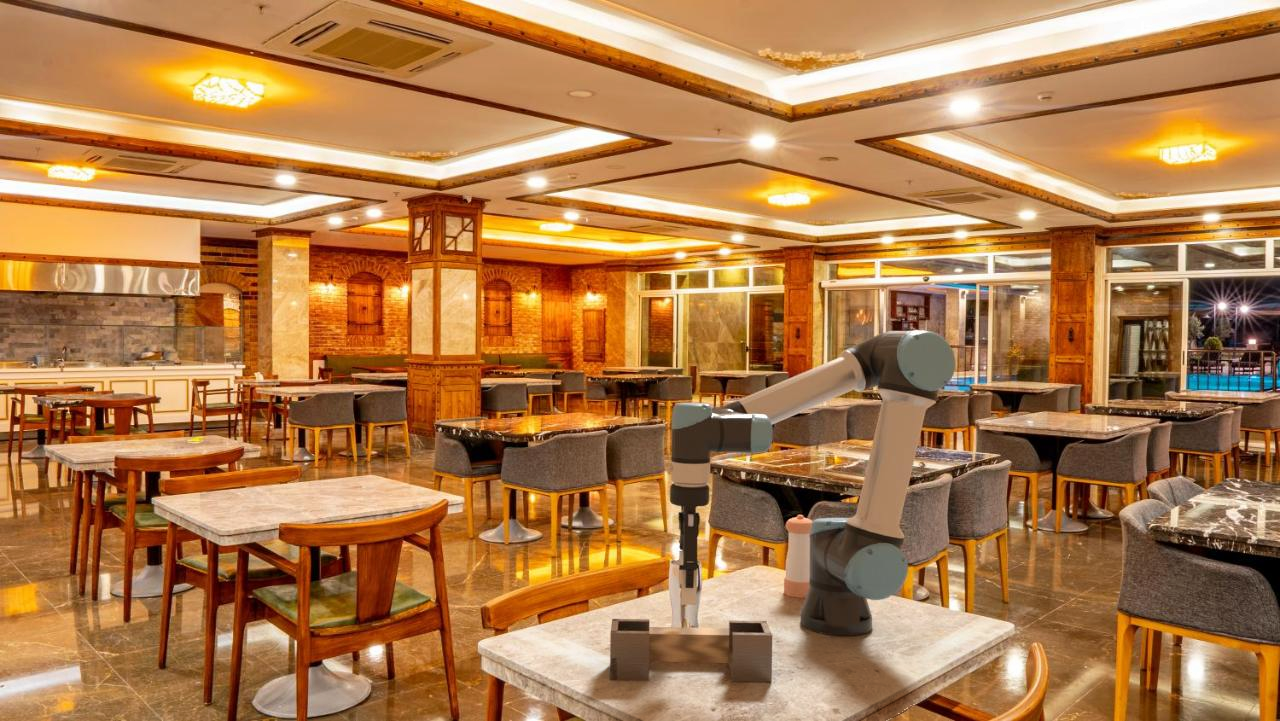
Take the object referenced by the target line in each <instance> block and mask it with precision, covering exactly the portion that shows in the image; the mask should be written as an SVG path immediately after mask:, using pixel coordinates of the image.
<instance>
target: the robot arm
mask: <svg viewBox="0 0 1280 721" xmlns="http://www.w3.org/2000/svg"><path fill="white" fill-rule="evenodd" d="M955 370H956V357H955V353H954V351H953V349H952V347H951V346H950V344H949V342H948V341H947V340H946V339H945V338H944V337H943V336H941V335H940V334H938V333H935V332H934V331H933V332H932V331H927V330H923V329H922V330H921V329H913V330H889V331H885V332H882V333H879V334H876V335H875V336H872V337H870V338H868V339H866V340H864V341H862V342H858V343H857V344H855V345H854V346H851V347H849V348H846V349H844V350H842V351H841V352H840V354H839V357H837V358H834V359H833V360H830V361H828V362H825V363H823V364H821V365H819V366H815V367H814V368H811V369H808V370H807V371H804V372H801V373H799V374H796V375H794V376H792V377H790V378H787V379H785V380H783V381H780V382H777V383H776V384H773V385H771V386H769V387H766V388H764V389H762V390H759V391H756V392H754V393H752V394H749V395H747V396H745V397H742V398H740V399H737V400H736V401H735V400H734V402H730V403H727V404H725V405H724V406H714V407H712V405H711V404H709V403H703V402H679V403H677V404H675V405H673V408H672V418H671V425H670V428H671V455H670V456H671V458H670V461H671V462H670V463H671V465H668V466H667V471H671V472H670V481H671V482H672V483H671V484H670V486H669V488H670V489H669V503H670V504H672V505H674V506H677V507H681V508H680V510H681V511H680V512H679V511H678V515H677V516H678V517H677V518H678V530H679V540H678V543H679V553H678V554H679V557H678V559H679V584H682V593H681V605H696V589H697V568H698V564H697V560H698V537H699V531H700V530H699V528H700V527H699V526H700V523H701V522H700V521H701V517H700V516H701V515H700V512H697V508H698V507H705V506H707V505H709V503H710V486H709V485H708V484H709V483H710V482H711V453H715V454H716V453H733V454H734V453H735V454H737V453H740V454H743V453H744V454H752V455H753V454H754V453H756V454H757V453H766V452H768V450H769V449H770V448H771V446H772V442H773V436H774V435H773V434H774V433H773V432H774V431H773V430H774V429H773V425H774V424H777V423H779V422H781V421H783V420H786V419H788V418H791V417H793V416H796V415H798V414H800V413H803V412H805V411H807V410H809V409H812V408H814V407H816V406H819V405H822V404H823V403H826V402H829V401H831V400H833V399H836V398H837V397H840V396H843V395H844V394H848V393H849V392H852V391H855V392H858V393H862V392H864V391H866V390H868V389H872V388H876V387H877V392H878V394H879V395H880V397H881V399H882V401H881V405H880V410H879V414H878V420H877V424H876V427H875V431H874V436H873V439H872V444H871V449H870V453H869V458H868V462H867V466H866V469H865V470H866V471H865V474H864V478H863V483H862V487H861V492H860V494H859V495H860V496H859V501H858V504H857V508H856V512H855V514H854V516H852V517H823V518H816V519H814V520H812V521H813V522H812V523H811V528H810V534H809V537H810V573H809V577H810V579H809V589H808V592H807V595H806V598H804V601H803V603H802V604H803V605H802V607H801V610H800V624H801V625H802V626H803V627H804V628H806V629H808V630H810V631H813V632H817V633H820V634H823V635H832V636H858V635H863V634H866V633H869V632H870V631H871V630H873V616H872V611H871V609H870V606H869V602H868V600H871V601H880V600H881V601H882V600H885V599H888V598H890V597H892V595H895V594H897V592H898V591H900V590H901V588H902V587H903V585H904V584H905V583H906V582H905V581H906V580H907V576H908V573H909V572H908V570H909V565H908V564H909V563H908V562H907V559H906V556H905V554H904V552H903V551H902V549H903V546H904V542H905V537H906V536H905V534H904V532H903V531H902V529H901V527H900V525H901V524H900V522H901V519H902V514H903V509H904V506H905V501H906V498H907V492H908V490H909V489H908V488H909V484H910V480H911V475H912V472H913V467H914V463H915V459H916V454H917V450H918V445H919V441H920V437H921V434H922V433H921V432H922V428H923V424H924V420H925V415H926V411H927V410H928V409H929V408H930V407H932V406H934V405H935V404H937V399H938V395H939V390H940V389H942V388H944V387H945V386H946V385H947V384H949V383H950V382H951V380H952V378H953V377H954V374H955Z"/></svg>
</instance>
